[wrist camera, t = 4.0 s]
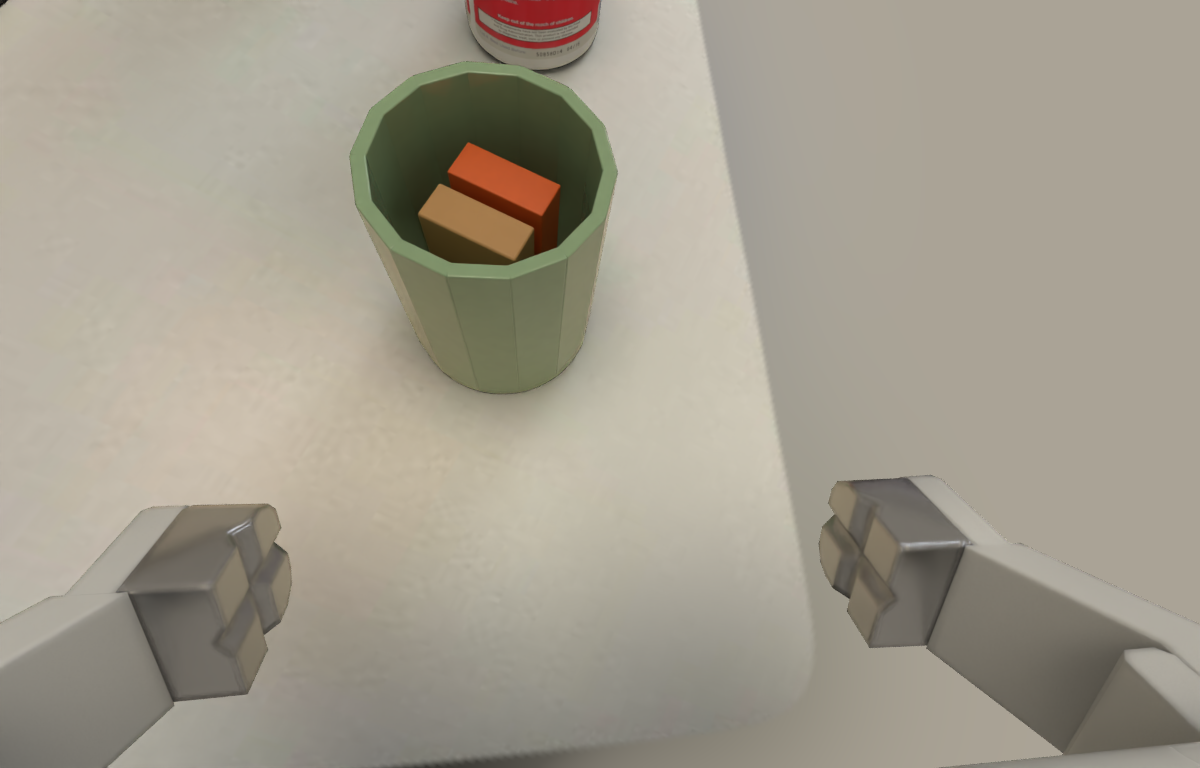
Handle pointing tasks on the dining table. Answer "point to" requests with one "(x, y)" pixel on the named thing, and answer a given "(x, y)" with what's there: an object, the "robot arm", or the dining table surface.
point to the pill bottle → (534, 30)
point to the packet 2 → (509, 192)
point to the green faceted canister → (477, 291)
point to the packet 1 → (472, 231)
